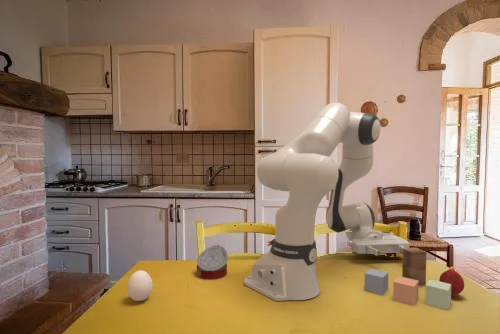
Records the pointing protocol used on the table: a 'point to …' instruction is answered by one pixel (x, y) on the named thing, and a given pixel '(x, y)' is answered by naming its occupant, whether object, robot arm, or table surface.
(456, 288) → the pomegranate
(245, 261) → the table surface
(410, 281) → the cube terracotta
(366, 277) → the cube slate
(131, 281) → the egg
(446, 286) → the cube sage
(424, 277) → the block walnut
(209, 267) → the canned food
